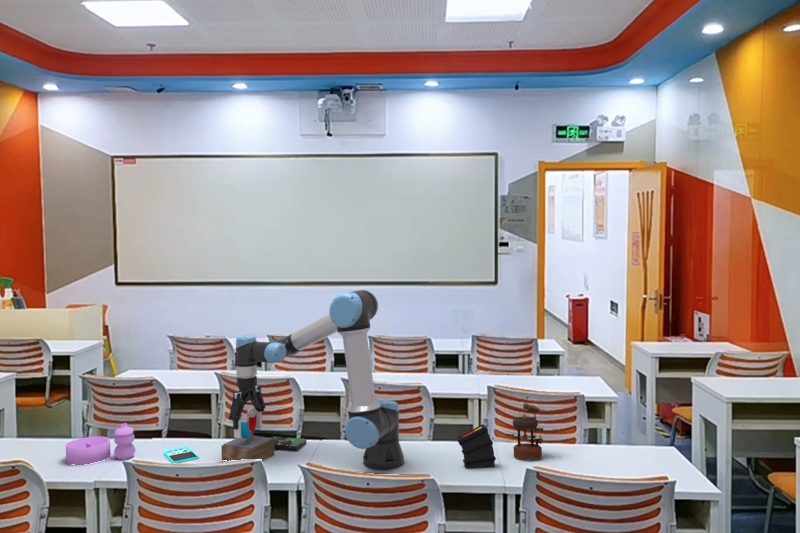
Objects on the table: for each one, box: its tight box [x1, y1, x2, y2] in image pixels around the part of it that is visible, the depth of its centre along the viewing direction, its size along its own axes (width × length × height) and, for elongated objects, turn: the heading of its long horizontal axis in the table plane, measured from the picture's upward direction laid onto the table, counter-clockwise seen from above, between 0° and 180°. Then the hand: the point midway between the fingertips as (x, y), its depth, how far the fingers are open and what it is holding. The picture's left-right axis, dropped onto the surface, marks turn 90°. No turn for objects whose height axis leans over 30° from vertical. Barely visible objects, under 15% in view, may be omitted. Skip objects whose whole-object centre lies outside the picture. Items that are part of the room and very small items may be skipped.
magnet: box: [239, 408, 257, 438], centre depth 240 cm, size 12×3×10 cm, turn 174°
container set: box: [65, 422, 136, 466], centre depth 242 cm, size 25×15×13 cm, turn 93°
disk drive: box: [271, 436, 308, 453], centre depth 254 cm, size 10×3×15 cm
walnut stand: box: [221, 435, 276, 461], centre depth 241 cm, size 14×14×6 cm
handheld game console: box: [163, 446, 200, 464], centre depth 244 cm, size 10×16×1 cm, turn 34°
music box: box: [505, 402, 546, 460], centre depth 238 cm, size 15×11×20 cm
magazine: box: [457, 423, 497, 469], centre depth 228 cm, size 4×13×15 cm, turn 96°
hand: (248, 432), depth 240 cm, fingers closed on magnet, 12 cm apart
